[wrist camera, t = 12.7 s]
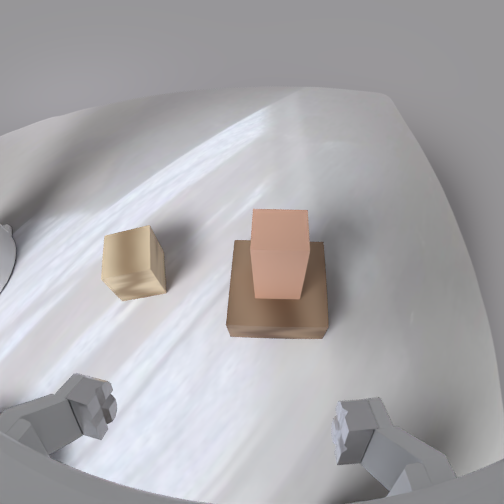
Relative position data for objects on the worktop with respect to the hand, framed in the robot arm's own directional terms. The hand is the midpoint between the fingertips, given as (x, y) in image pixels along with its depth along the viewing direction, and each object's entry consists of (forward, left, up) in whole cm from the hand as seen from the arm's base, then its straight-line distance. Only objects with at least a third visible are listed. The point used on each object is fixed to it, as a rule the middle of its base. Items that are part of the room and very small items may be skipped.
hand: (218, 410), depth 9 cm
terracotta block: (+2, +14, -18) cm, 23 cm away
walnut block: (+2, +14, -22) cm, 26 cm away
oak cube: (-15, +16, -22) cm, 31 cm away
